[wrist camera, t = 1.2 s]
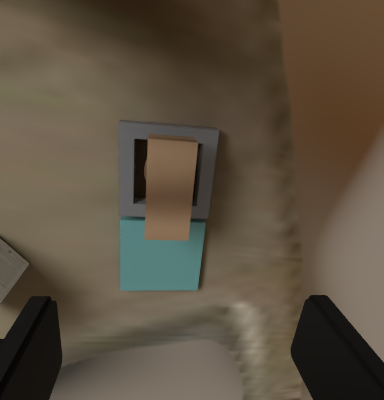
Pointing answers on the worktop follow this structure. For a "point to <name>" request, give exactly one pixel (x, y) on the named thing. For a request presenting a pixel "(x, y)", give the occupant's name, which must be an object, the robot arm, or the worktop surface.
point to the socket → (203, 135)
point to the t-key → (169, 186)
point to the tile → (159, 258)
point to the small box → (9, 268)
